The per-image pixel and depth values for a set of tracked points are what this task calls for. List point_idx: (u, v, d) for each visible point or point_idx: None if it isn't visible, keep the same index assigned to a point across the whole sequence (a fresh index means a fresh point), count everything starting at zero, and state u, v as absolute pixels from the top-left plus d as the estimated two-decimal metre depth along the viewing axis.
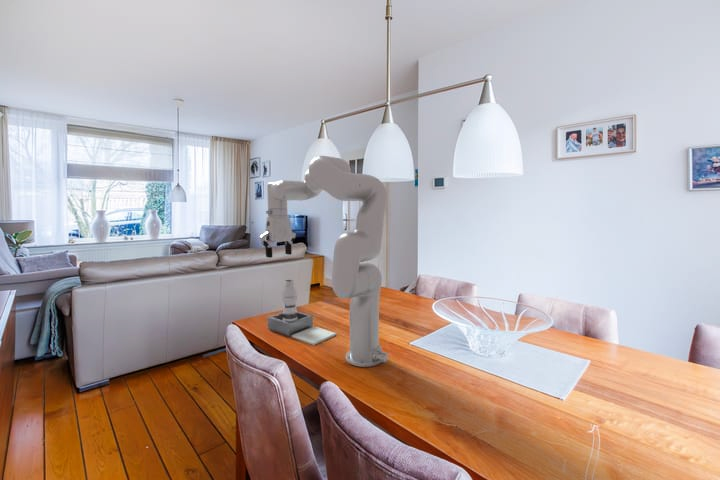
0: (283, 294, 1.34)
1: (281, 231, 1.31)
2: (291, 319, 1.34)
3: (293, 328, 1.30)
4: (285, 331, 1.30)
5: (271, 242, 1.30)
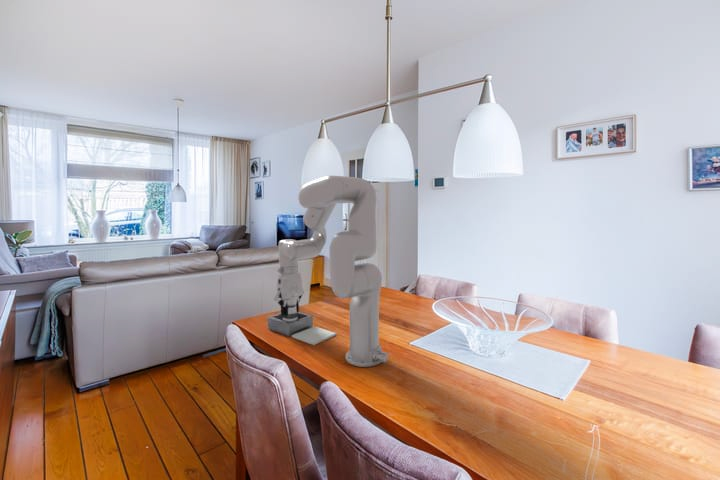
0: None
1: (292, 288, 1.34)
2: (291, 318, 1.35)
3: (293, 328, 1.30)
4: (285, 331, 1.30)
5: (285, 301, 1.33)
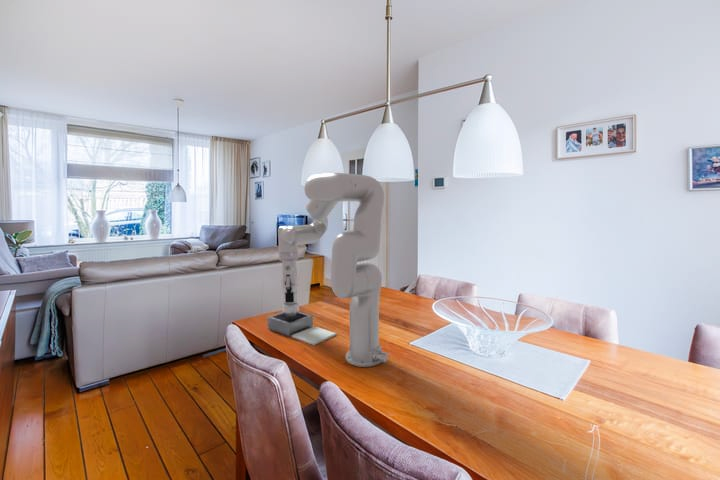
0: None
1: (296, 273, 1.35)
2: (296, 304, 1.35)
3: (293, 328, 1.30)
4: (285, 331, 1.30)
5: (292, 286, 1.32)
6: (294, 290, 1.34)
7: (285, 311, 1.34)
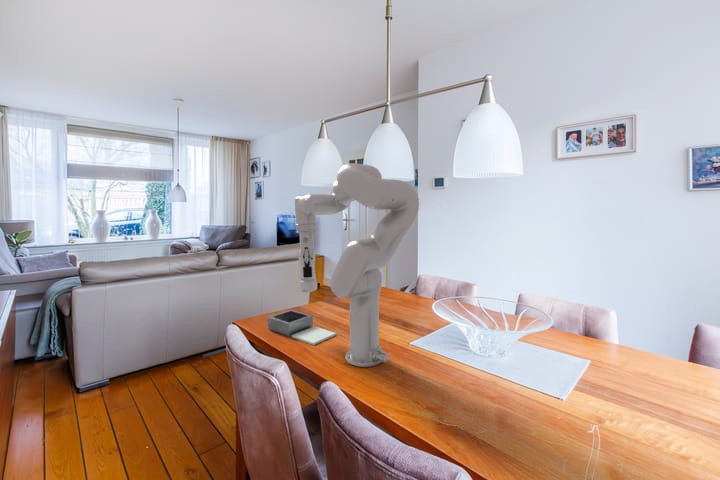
0: None
1: None
2: (314, 279, 1.27)
3: (293, 328, 1.30)
4: (285, 331, 1.30)
5: (310, 260, 1.24)
6: (312, 264, 1.26)
7: (303, 287, 1.26)
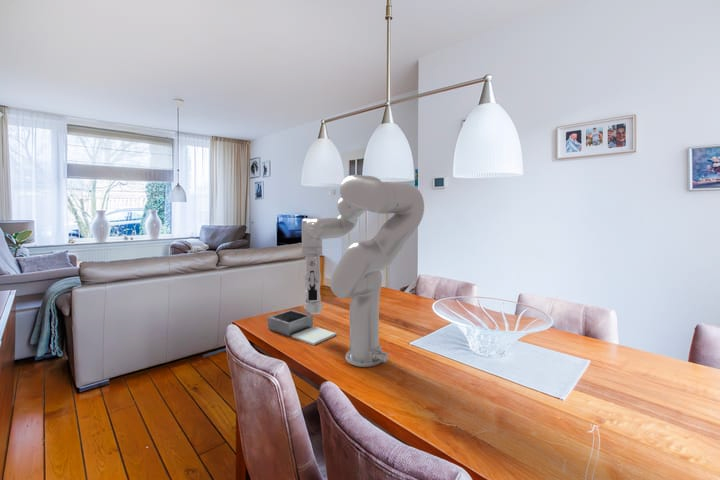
0: None
1: None
2: (319, 302, 1.27)
3: (293, 328, 1.30)
4: (285, 331, 1.30)
5: None
6: (317, 287, 1.25)
7: (307, 309, 1.25)
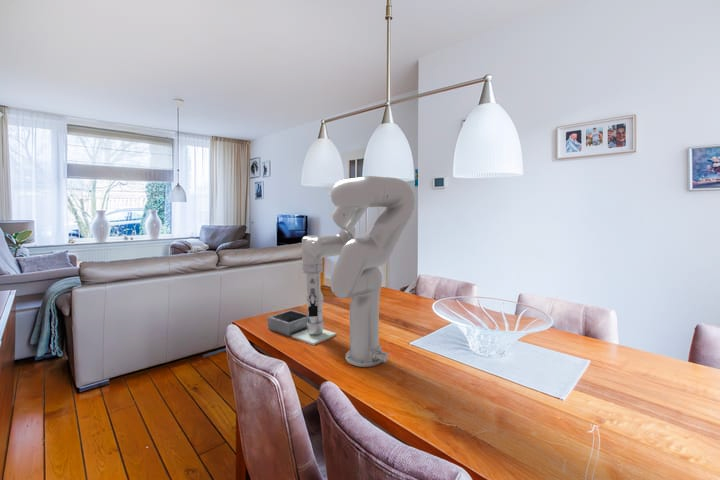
0: None
1: (320, 286, 1.26)
2: (321, 322, 1.27)
3: (293, 328, 1.30)
4: (285, 331, 1.30)
5: (316, 300, 1.23)
6: (320, 308, 1.26)
7: (309, 330, 1.26)
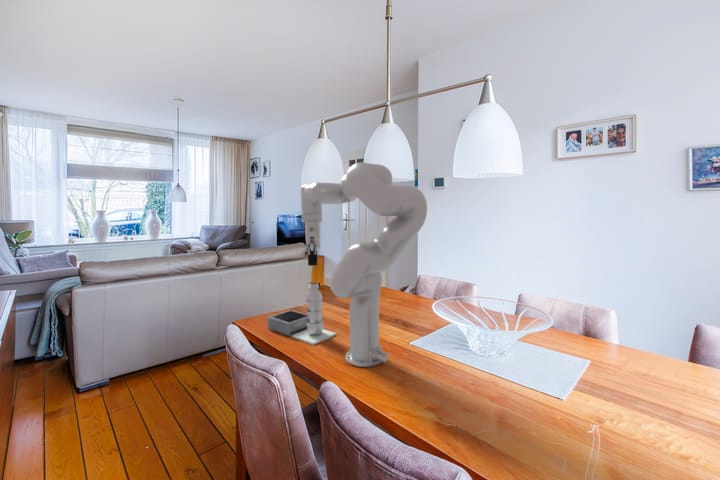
0: (313, 298, 1.24)
1: None
2: (321, 322, 1.27)
3: (293, 328, 1.30)
4: (285, 331, 1.30)
5: None
6: (319, 308, 1.26)
7: (309, 330, 1.26)
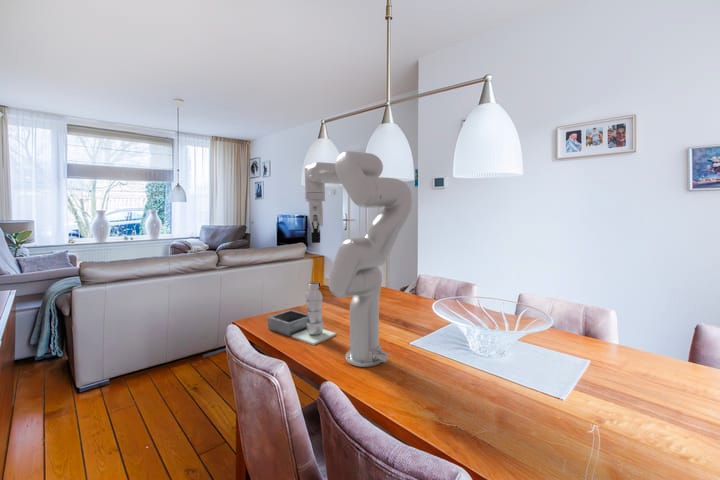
0: (313, 298, 1.24)
1: None
2: (321, 322, 1.27)
3: (293, 328, 1.30)
4: (285, 331, 1.30)
5: None
6: (319, 308, 1.26)
7: (309, 330, 1.26)
